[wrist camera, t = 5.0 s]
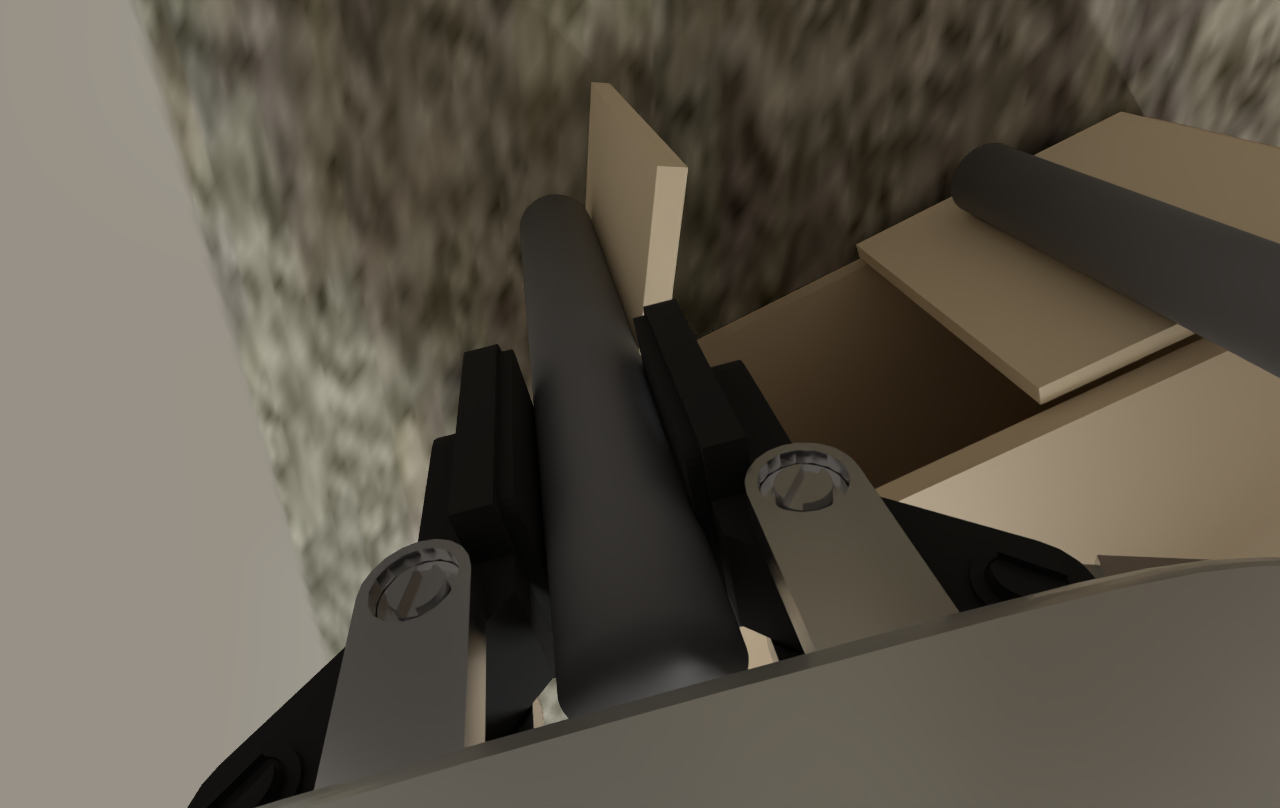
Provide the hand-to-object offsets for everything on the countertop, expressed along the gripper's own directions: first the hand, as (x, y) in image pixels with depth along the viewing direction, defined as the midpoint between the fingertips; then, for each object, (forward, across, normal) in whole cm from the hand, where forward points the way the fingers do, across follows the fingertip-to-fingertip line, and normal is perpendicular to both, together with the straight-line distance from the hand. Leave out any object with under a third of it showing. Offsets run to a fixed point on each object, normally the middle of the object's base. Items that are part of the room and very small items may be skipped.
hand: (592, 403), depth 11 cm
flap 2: (+10, -13, +1) cm, 17 cm away
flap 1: (+10, 0, +1) cm, 10 cm away
